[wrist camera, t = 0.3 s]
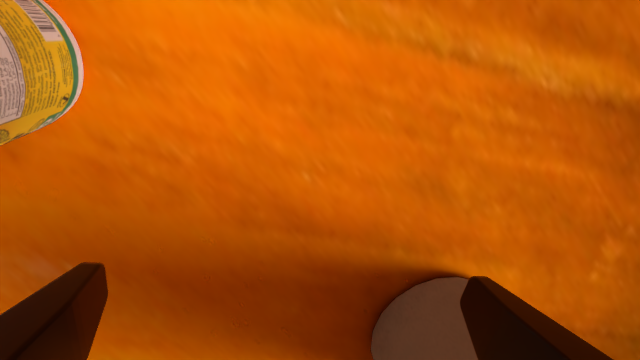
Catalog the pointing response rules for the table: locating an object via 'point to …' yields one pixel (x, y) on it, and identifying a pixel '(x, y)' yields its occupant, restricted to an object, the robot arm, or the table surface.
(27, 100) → the supplement bottle
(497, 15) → the table surface
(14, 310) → the robot arm
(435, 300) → the canister
